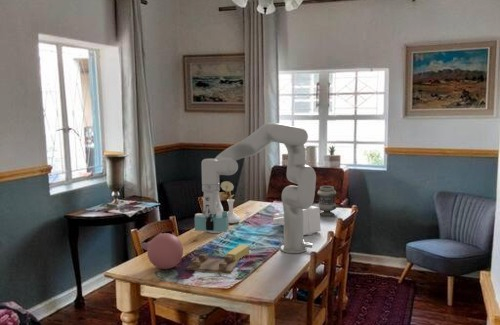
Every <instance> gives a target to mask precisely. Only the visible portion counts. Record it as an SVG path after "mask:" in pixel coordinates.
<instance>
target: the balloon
mask: <svg viewBox="0 0 500 325" xmlns="http://www.w3.org/2000/svg"><path fill="white" fill-rule="evenodd" d="M140 245H141V248H142V249H144V250H145V251H147V253H146V254H147V257H148V258H147V259H148V260H149V262H150V263H151V264H152V265H153V266H154V267H155V268H158V269H159V270H160V269H162V270H169V269H172V268H174V267H175V266H177V265H178V264H179V263H180V262H181V260H182V258H183V256H184V255H183V254H184V246H183V244H182V242H181V240H180V238H178V237H177V235H175V234H173V233H168V232H167V233H166V232H164V233H159V234H157V235H155V236H154V237H153V238H152V239H151V240H149V241H147V242H142V243H141V244H140Z"/></svg>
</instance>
